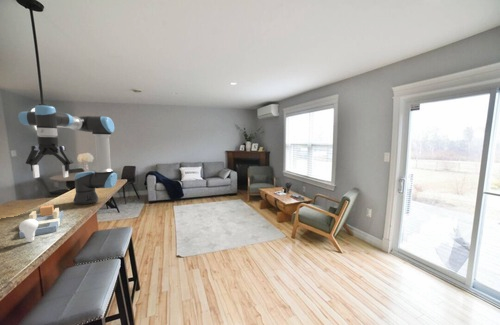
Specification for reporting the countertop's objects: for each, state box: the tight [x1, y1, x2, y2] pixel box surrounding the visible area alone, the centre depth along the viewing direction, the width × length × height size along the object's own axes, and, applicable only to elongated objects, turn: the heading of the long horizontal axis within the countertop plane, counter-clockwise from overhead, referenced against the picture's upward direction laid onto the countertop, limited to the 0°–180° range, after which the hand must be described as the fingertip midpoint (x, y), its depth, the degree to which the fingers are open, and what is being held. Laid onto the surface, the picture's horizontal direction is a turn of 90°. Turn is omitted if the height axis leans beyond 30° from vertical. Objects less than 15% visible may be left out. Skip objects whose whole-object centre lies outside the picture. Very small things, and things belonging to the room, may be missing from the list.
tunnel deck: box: [18, 207, 64, 239], centre depth 114 cm, size 28×13×7 cm, turn 37°
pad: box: [37, 218, 61, 228], centre depth 112 cm, size 6×13×3 cm, turn 127°
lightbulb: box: [18, 218, 38, 243], centre depth 95 cm, size 6×6×11 cm
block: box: [39, 204, 55, 217], centre depth 122 cm, size 5×5×5 cm
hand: (51, 177), depth 108 cm, fingers open, 13 cm apart
